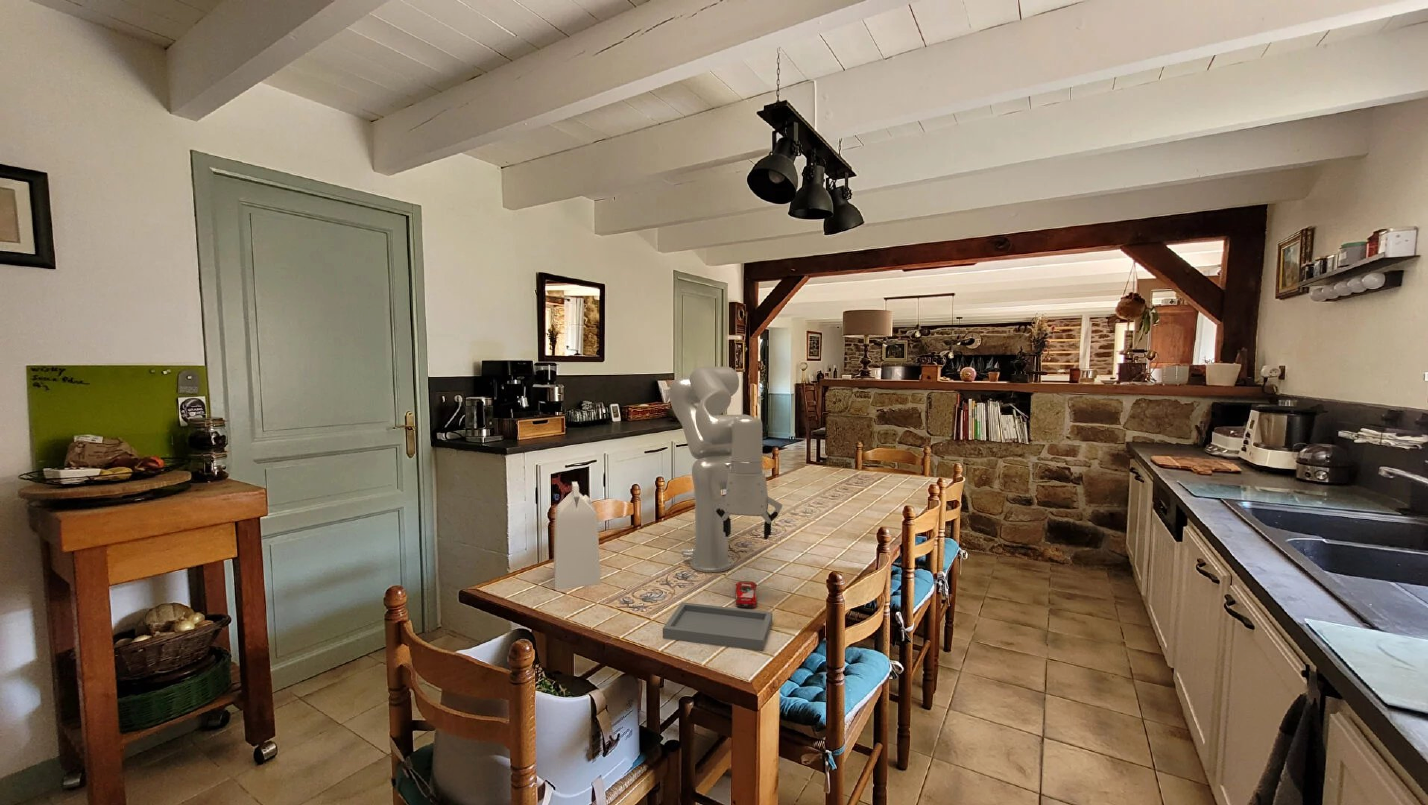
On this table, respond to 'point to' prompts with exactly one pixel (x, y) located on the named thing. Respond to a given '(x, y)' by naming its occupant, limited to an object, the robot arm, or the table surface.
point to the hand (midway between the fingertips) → (747, 536)
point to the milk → (576, 542)
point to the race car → (746, 594)
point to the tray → (719, 626)
